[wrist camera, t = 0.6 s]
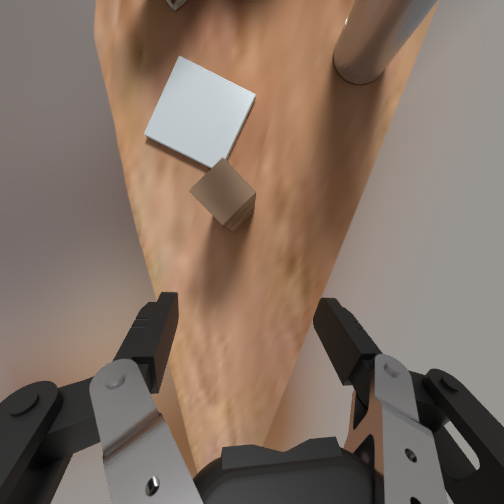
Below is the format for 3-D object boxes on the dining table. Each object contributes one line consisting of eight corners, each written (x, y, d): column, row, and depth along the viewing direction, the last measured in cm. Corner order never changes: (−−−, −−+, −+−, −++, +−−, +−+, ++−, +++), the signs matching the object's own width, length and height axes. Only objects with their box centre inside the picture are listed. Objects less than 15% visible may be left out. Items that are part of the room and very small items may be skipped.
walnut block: (234, 191, 34) (222, 157, 20) (253, 212, 35) (256, 191, 21) (213, 211, 35) (188, 190, 21) (233, 232, 35) (222, 225, 21)
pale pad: (181, 61, 33) (179, 55, 32) (255, 98, 34) (255, 94, 33) (147, 137, 34) (143, 134, 33) (220, 173, 34) (219, 171, 33)
